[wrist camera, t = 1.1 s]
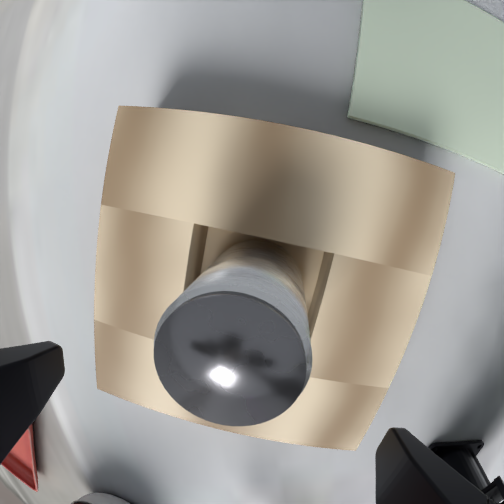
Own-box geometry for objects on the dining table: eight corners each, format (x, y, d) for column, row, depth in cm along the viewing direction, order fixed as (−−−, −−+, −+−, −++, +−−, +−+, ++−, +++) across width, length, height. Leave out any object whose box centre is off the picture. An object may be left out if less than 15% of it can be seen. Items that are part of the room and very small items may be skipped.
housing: (422, 175, 16) (455, 172, 12) (347, 411, 19) (355, 450, 15) (151, 120, 17) (118, 105, 13) (124, 359, 20) (97, 388, 16)
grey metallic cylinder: (312, 250, 16) (335, 311, 8) (290, 336, 18) (288, 442, 9) (219, 230, 17) (154, 270, 9) (204, 316, 18) (145, 406, 10)
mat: (511, 32, 12) (515, 29, 12) (511, 178, 15) (516, 178, 14) (365, -33, 13) (367, -38, 13) (347, 117, 16) (348, 115, 15)
